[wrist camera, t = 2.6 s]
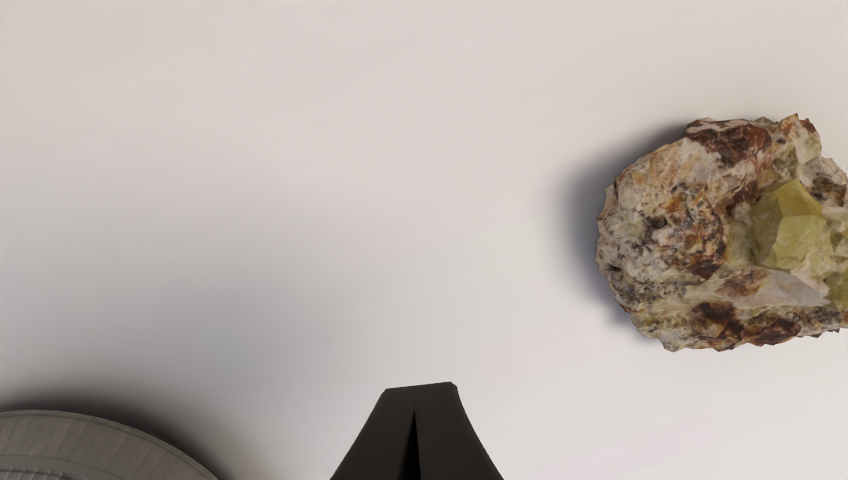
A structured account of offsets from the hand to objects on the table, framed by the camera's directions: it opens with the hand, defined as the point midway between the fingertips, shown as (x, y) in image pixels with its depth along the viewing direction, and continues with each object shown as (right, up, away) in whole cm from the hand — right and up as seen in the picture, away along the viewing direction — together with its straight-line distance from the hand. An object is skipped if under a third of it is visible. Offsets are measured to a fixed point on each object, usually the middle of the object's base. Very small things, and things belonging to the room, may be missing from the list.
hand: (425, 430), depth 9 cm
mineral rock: (+10, +4, +7) cm, 13 cm away
